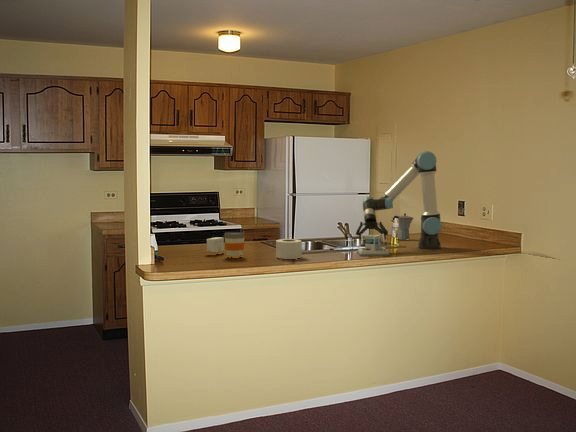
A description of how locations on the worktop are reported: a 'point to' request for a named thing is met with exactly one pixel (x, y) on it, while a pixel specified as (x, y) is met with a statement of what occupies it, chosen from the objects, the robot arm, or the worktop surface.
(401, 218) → the moka pot
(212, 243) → the skincare box
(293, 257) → the cream short cylinder
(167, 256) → the worktop surface
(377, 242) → the light bulb box
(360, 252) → the slot holder
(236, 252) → the reusable coffee cup
